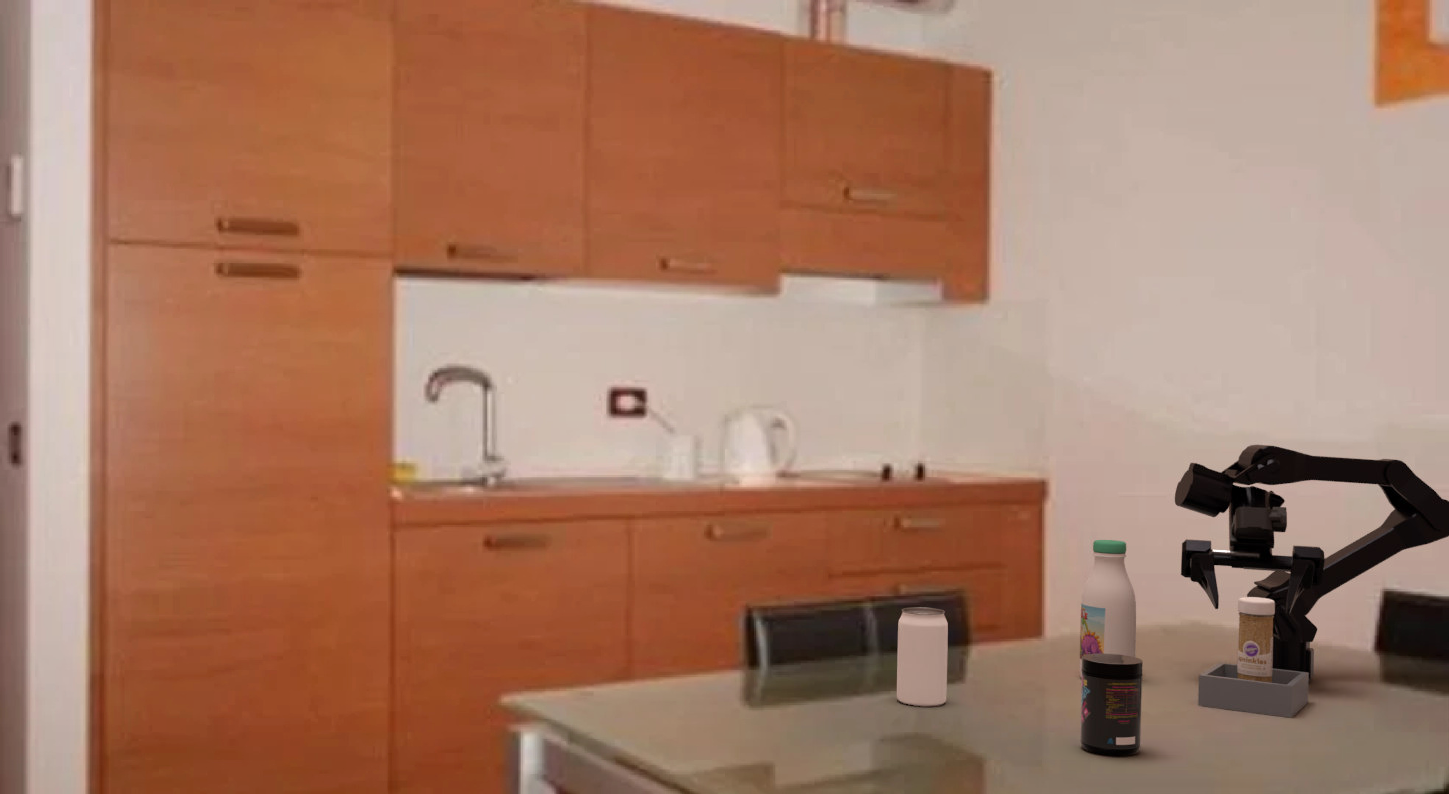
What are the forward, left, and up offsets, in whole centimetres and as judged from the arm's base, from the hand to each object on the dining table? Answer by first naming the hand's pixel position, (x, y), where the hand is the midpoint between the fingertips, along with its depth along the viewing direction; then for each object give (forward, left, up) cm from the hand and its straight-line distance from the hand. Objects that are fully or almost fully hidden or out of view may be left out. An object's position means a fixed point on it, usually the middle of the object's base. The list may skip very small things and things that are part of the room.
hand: (1252, 609), depth 189 cm
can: (-35, -32, -12) cm, 49 cm away
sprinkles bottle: (+2, -5, -11) cm, 13 cm away
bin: (+1, -5, -12) cm, 13 cm away
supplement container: (-7, -42, -12) cm, 45 cm away
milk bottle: (-19, -1, -12) cm, 23 cm away
